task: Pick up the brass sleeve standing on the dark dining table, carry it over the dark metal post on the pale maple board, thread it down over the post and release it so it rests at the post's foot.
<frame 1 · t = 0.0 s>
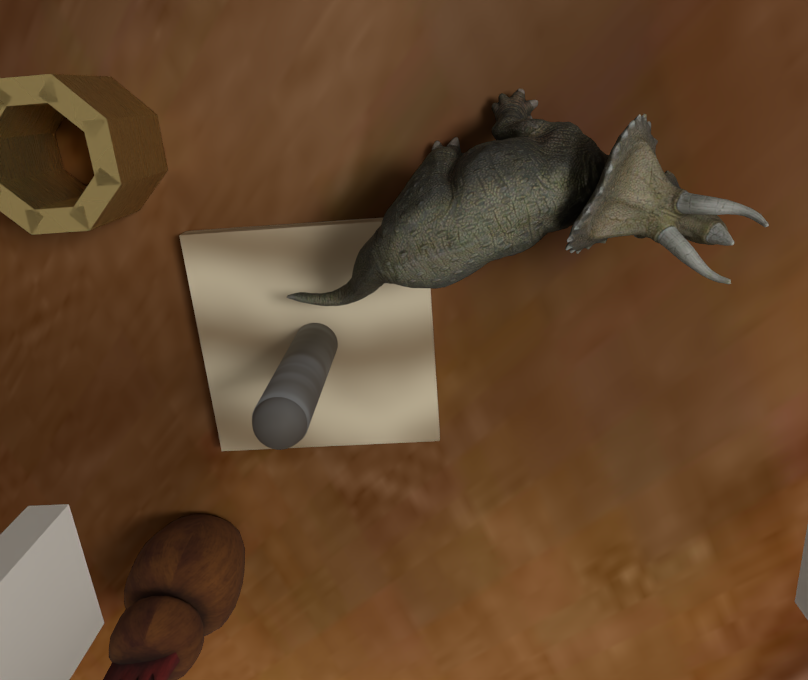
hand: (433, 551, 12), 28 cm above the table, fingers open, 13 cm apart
wooden figurine: (210, 534, 46), on the table
dinosaur figurine: (471, 181, 37), on the table, touching post board
sleeve: (100, 147, 37), on the table
post board: (319, 336, 40), on the table
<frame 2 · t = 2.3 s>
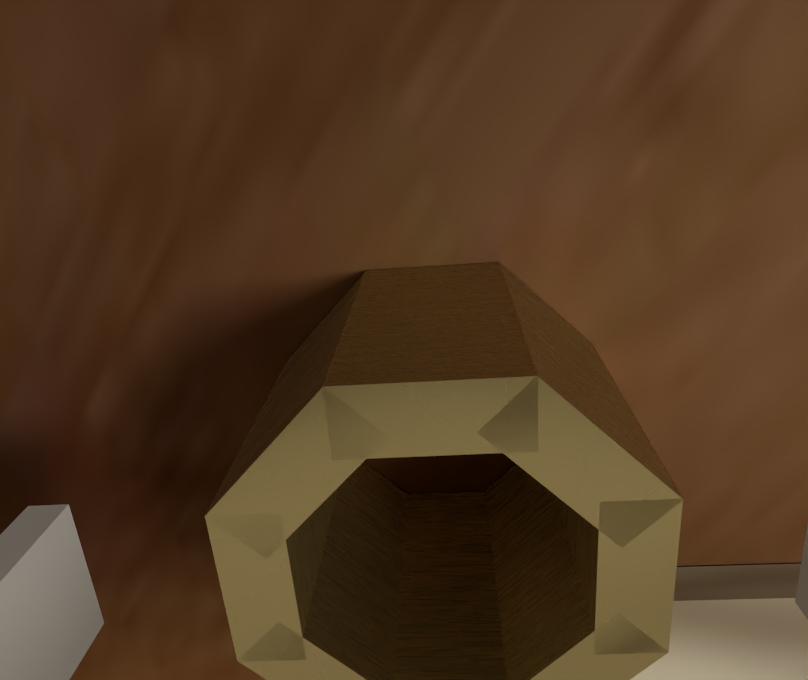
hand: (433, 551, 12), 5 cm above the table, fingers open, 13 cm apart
sleeve: (440, 409, 16), on the table
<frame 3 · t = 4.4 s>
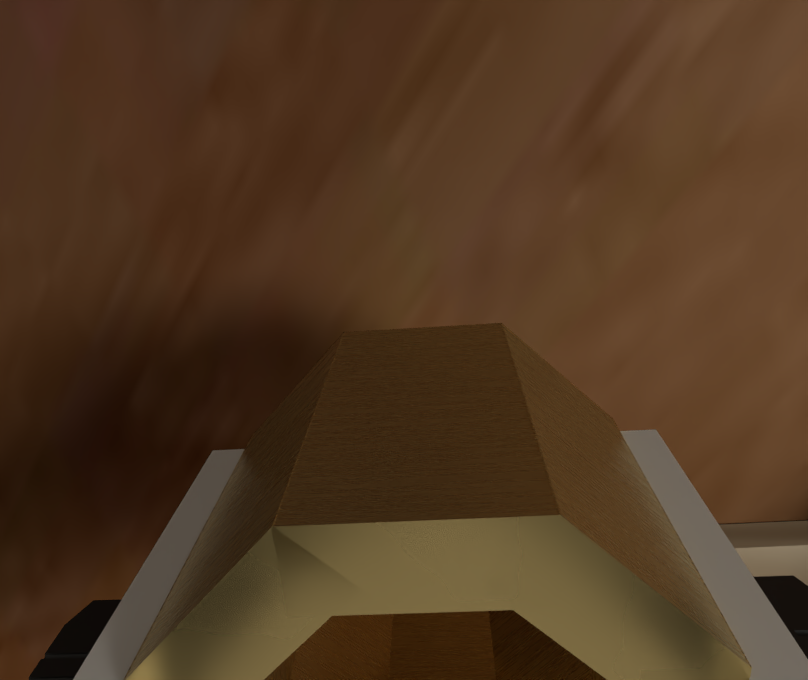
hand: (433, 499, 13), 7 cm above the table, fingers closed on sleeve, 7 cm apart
sleeve: (433, 491, 14), point 6 cm above the table, touching gripper
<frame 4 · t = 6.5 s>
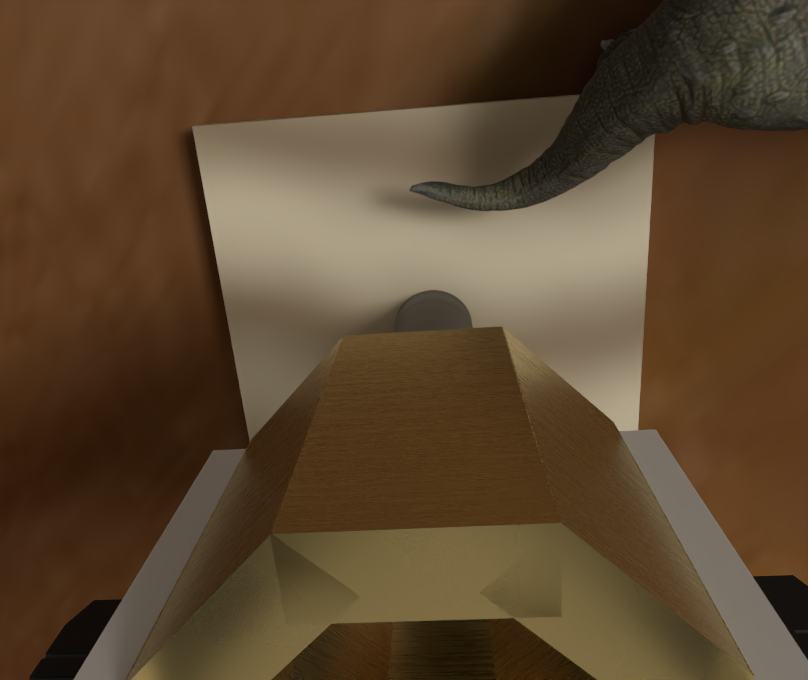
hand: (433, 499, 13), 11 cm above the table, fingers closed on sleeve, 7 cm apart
sleeve: (433, 494, 14), point 11 cm above the table, touching gripper
post board: (433, 315, 23), on the table
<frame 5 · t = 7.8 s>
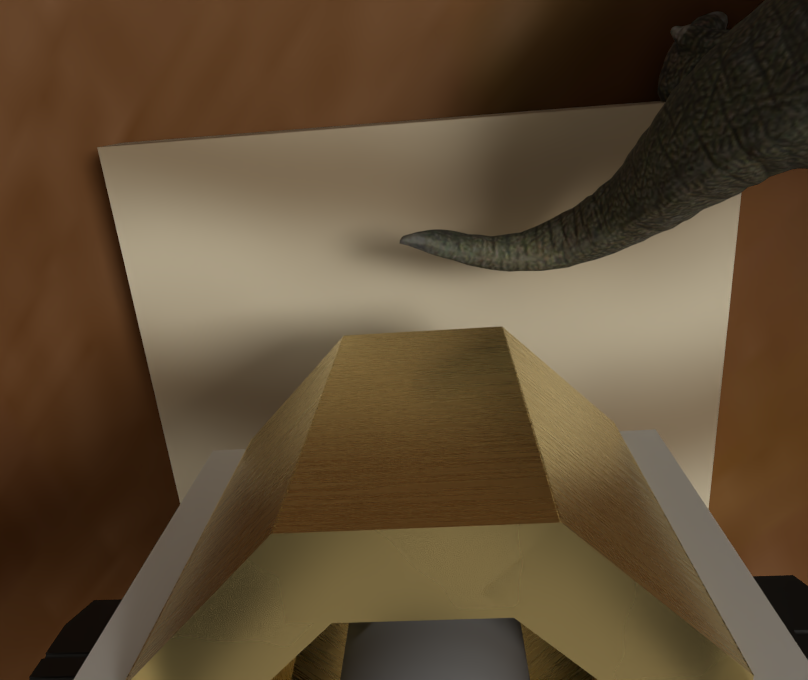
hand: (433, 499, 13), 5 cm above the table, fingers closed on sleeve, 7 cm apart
sleeve: (433, 494, 14), point 4 cm above the table, touching gripper
post board: (433, 394, 18), on the table
when the fingers open (3 cm above the table, at t = 8.6 s): sleeve drops 1 cm, resting on post board.
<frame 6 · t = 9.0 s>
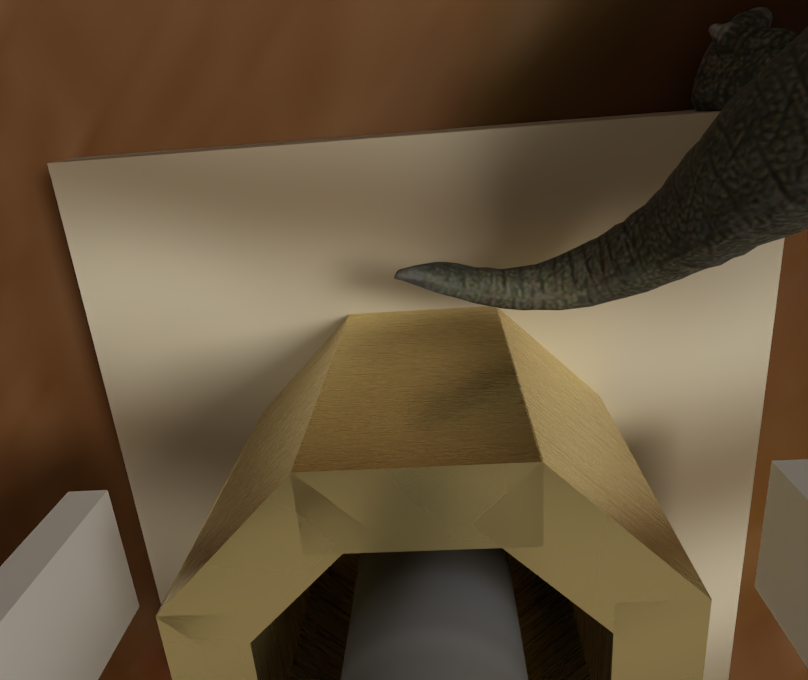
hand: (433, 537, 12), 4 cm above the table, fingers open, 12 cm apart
sleeve: (432, 463, 15), point 1 cm above the table, touching post board
post board: (433, 436, 16), on the table
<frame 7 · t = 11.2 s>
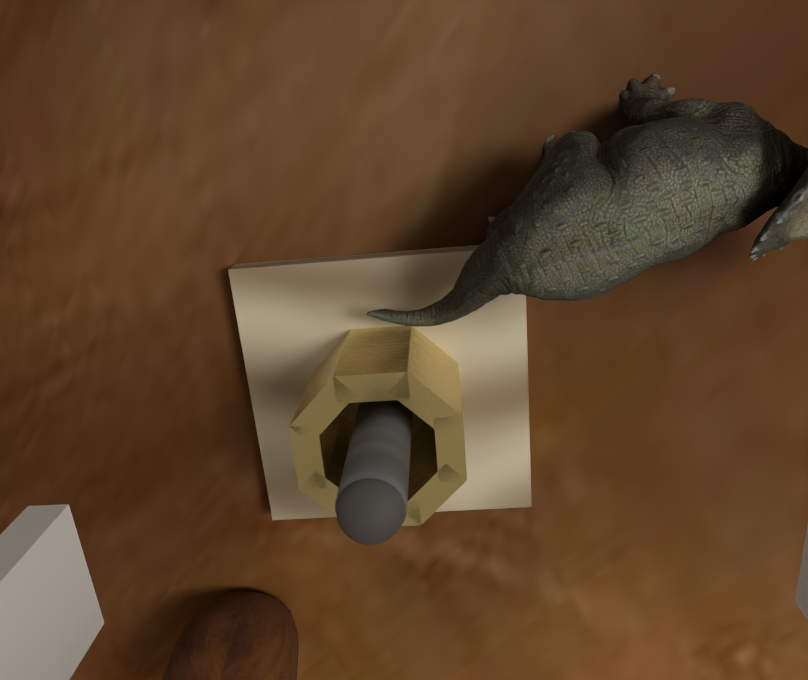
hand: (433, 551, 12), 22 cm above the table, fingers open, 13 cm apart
wooden figurine: (255, 612, 40), on the table
dinosaur figurine: (585, 184, 31), on the table, touching post board
sleeve: (387, 394, 33), point 1 cm above the table, touching post board
post board: (389, 385, 34), on the table
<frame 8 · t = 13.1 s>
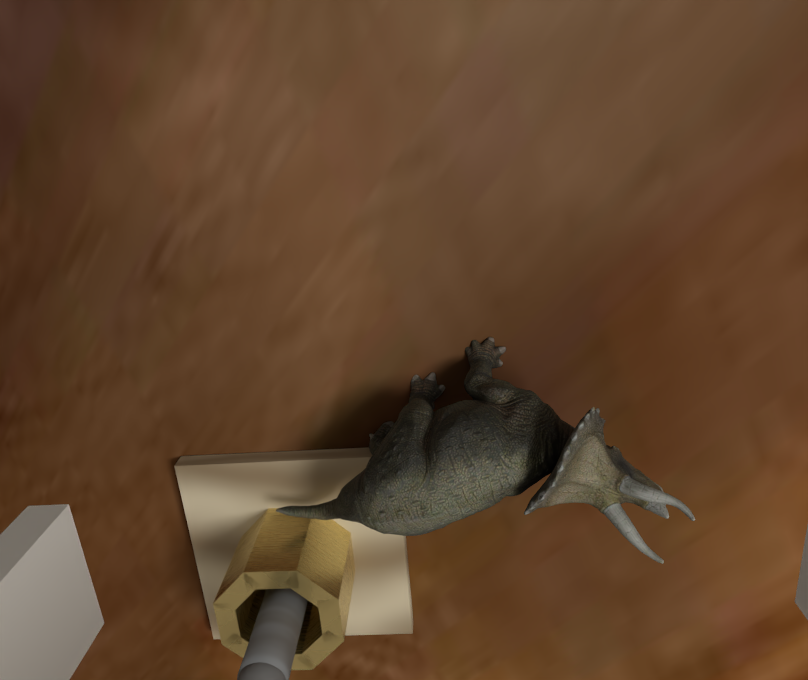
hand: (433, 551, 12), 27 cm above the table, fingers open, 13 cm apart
dinosaur figurine: (445, 406, 41), on the table, touching post board
sleeve: (298, 553, 43), point 1 cm above the table, touching post board
post board: (302, 541, 44), on the table
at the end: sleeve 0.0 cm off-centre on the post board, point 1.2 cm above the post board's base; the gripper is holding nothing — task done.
